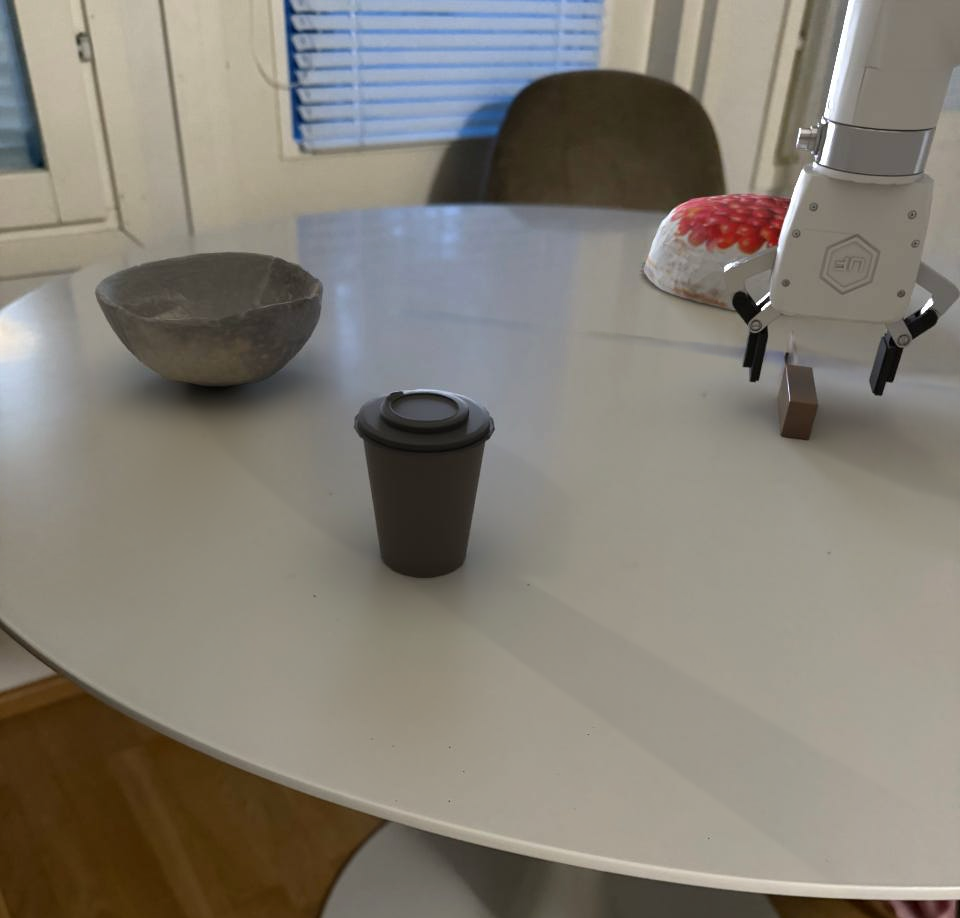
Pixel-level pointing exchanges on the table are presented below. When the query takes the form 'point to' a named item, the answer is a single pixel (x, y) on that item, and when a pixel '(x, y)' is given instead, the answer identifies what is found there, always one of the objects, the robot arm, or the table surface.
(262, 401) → the table surface
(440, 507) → the coffee cup
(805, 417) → the knife
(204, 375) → the bowl
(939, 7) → the robot arm
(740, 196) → the cake
